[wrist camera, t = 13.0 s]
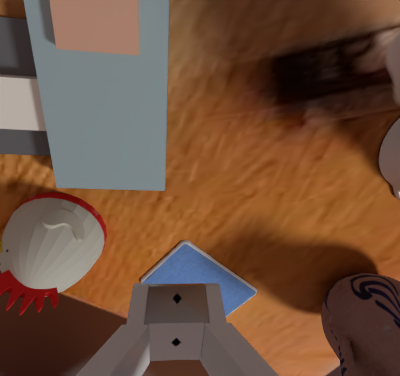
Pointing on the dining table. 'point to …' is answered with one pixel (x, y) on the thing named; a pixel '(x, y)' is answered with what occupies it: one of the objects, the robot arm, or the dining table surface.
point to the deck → (105, 104)
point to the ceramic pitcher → (364, 324)
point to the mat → (20, 66)
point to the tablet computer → (200, 274)
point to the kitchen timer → (48, 247)
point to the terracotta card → (96, 25)
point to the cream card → (20, 103)
